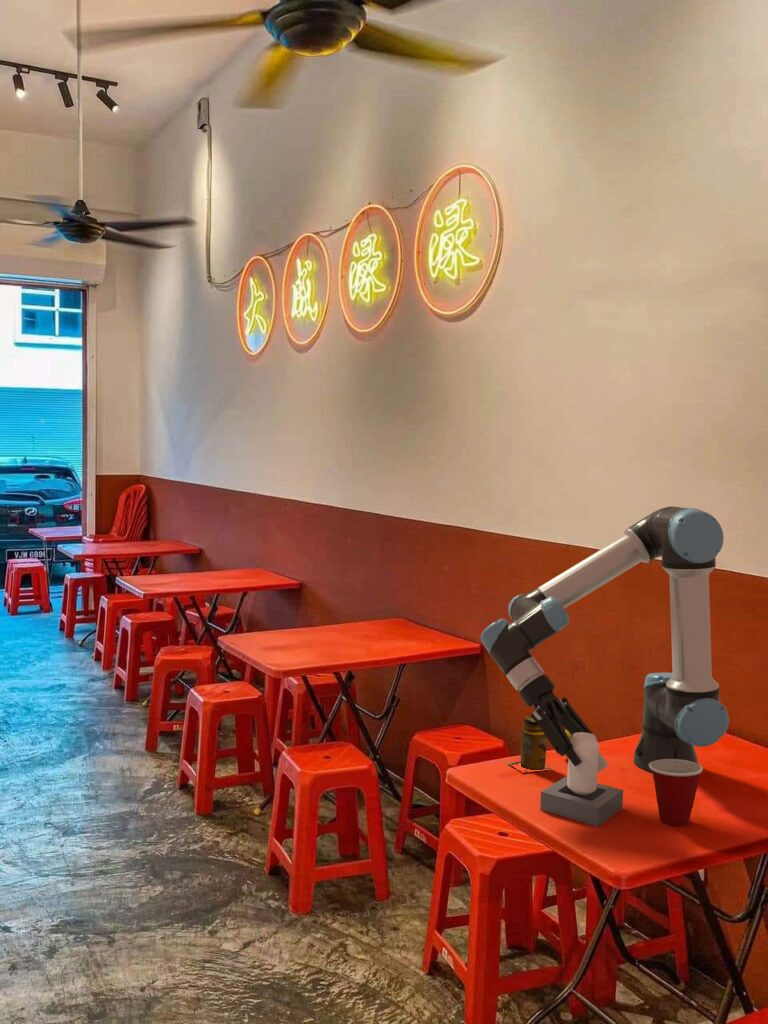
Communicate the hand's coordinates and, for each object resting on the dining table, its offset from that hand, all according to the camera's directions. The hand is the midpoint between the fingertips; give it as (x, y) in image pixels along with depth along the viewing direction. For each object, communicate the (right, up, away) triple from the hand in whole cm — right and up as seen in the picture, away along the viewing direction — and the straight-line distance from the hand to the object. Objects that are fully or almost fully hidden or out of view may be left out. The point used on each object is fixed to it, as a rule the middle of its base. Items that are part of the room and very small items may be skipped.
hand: (597, 772), depth 185 cm
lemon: (+2, -7, +35) cm, 35 cm away
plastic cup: (+15, -10, -2) cm, 18 cm away
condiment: (-10, -7, +28) cm, 31 cm away
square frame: (-3, -9, +3) cm, 9 cm away
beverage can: (-3, -5, +2) cm, 6 cm away
